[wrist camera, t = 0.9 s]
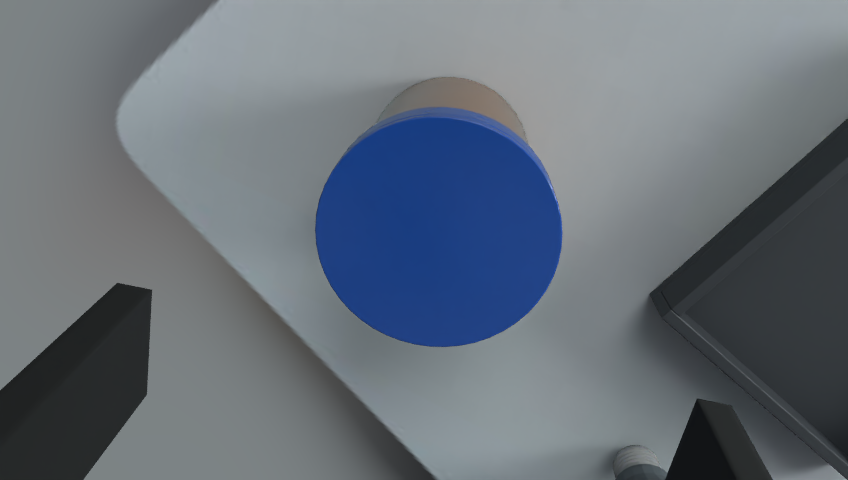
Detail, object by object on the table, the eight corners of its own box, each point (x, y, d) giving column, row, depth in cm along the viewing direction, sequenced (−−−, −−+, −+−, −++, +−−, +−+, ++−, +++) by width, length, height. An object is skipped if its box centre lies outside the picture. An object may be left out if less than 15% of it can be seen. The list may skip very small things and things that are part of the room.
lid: (448, 365, 29) (446, 390, 27) (277, 231, 27) (265, 248, 25) (607, 213, 26) (615, 231, 24) (427, 54, 24) (424, 60, 23)
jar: (455, 258, 37) (447, 366, 27) (339, 162, 35) (287, 240, 26) (561, 150, 34) (594, 226, 25) (441, 42, 33) (427, 78, 23)
